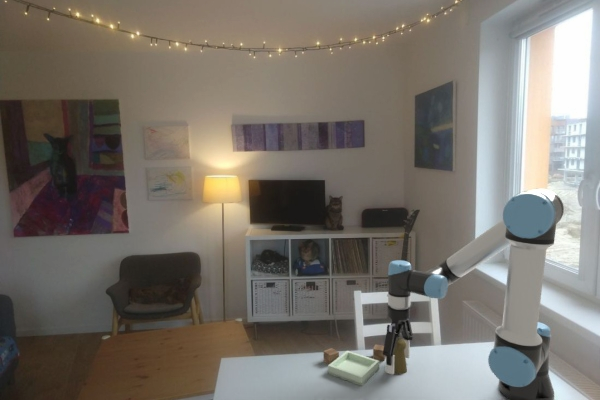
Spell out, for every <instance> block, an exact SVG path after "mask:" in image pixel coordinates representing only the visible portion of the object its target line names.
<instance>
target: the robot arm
mask: <svg viewBox="0 0 600 400" xmlns="http://www.w3.org/2000/svg"><path fill="white" fill-rule="evenodd" d="M564 210H565V207H564V203H563V200H562V199H561V198H560V196H559V195H558V194H557V193H556V192H554V191H552V190H548V189H546V188H533V189H530V190H525V191H522V192H519V193H517V194H515V195H514V196H512V197H511V198H510V199H509V200H508V201H507V202H506V204H505V205H504V208H503V211H502V219H501V220H500V221H498V222H497V223H495V224H494V225H493V226H491V227H490V228H488V229H487V230H486V231H484V232H483V233H482V234H480V235H479V236H477V237H476V238H474V239H473V240H471V241H470V242H469V243H467V244H466V245H464V247H462V248H460V249H459V250H457V252H455V253H453V254H452V255H451V256H449V257H448V258H446V259H445V260H443V261H442V262H441V263H439V264H438V265H436V266H435V267H431V268H430V269H429V270H426V271H422V270H420V271H419V270H415V269H413V268H412V265H411V263H410V262H409V261H406V260H403V259H402V260H400V259H399V260H397V259H396V260H392V261H390V262H389V264H388V269H387V271H388V272H387V281H388V282H387V283H388V284H387V295H386V297H387V304H388V305H387V316H388V318H389V319H391V323H390V324H387V325H386V333H385V339H384V345H383V346H384V349H383V355H385V356H386V358H385V373H387V374H389V375H394V374H395V373H394V355H393V354H394V350H395V346H396V343H397V339H398V338H400V337H402V339H403V340H405V342H406V348H405V358H406V359H410V355H411V354H410V349H411V347H410V345H411V343H410V341H413V339H414V338H413V331H412V330H413V329H412V325H411V319H410V318H411V298H412V297H411V294H416V295H420V296H424V297H427V298H430V299H439V300H442V299H443V298H445V297H446V295H447V293H448V289H449V286H451V285H453V284H455V283H456V282H457V281H458V280H460V279H461V278H462V277H464V276H466V275H467V274H468V273H470V272H472V271H473V270H475V269H476V268H477V267H479V266H481V265H482V264H484V263H486V262H487V261H489V260H490V259H492V258H493V257H494V256H496V255H498V254H499V253H501V252H502V251H504V250H505V249H507V248H509V257H508V265H507V266H508V267H507V275H506V286H505V294H504V306H503V314H502V315H503V316H502V324H501V325H498V326H497V327H496V328H495V331H494V333H495V334H494V343H493V348H492V349H491V350H490V351H489V354H488V358H487V361H488V362H487V363H488V367H489V369H490V371H491V372H492V373H493V374H494V376H495V377H496V379H498V389H499V391H500V393H501V394H502V395H503V396H504V397H506V398H507V399H509V400H555V391H554V388H553V385H552V381H551V378H550V373H549V371H550V370H549V369H550V354H551V339H552V332H551V331H552V330H551V327H549V326H548V325H547V324H545V323H542V322H540V321H539V317H540V310H541V309H540V306H541V299H542V291H543V284H544V283H543V282H544V274H545V266H546V265H545V264H546V255H547V250H548V249H549V248H550V247H552V246H554V244H555V238H556V230H557V229H556V228H557V224H558V223H559V222H560V221H561V219H562V218H563V215H564V212H565V211H564Z"/></svg>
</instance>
